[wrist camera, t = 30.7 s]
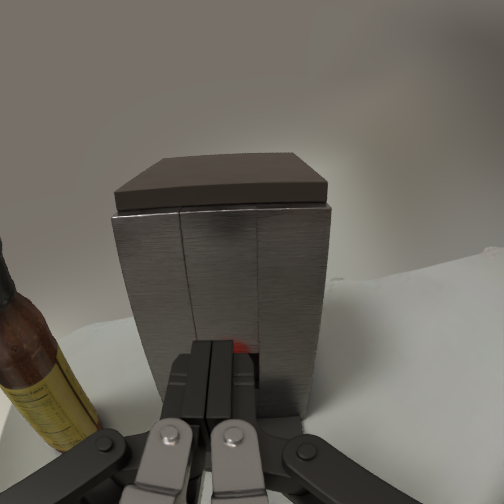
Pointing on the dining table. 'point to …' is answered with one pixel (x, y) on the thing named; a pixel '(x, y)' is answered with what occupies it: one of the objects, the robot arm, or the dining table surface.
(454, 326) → the dining table surface
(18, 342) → the sauce bottle
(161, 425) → the robot arm
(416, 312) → the dining table surface
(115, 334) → the dining table surface
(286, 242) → the coffee maker
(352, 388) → the dining table surface
